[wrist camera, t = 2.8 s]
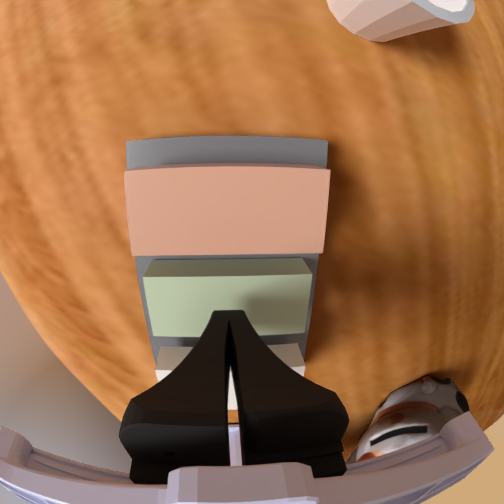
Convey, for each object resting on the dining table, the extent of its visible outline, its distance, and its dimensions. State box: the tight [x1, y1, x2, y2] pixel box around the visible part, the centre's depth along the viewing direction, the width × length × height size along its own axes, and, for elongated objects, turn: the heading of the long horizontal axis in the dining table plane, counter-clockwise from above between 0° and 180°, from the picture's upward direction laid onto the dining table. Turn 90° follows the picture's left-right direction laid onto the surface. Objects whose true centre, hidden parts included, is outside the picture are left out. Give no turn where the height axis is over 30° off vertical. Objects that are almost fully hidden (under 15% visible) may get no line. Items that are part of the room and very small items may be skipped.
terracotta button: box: [124, 163, 330, 256], centre depth 12 cm, size 4×8×2 cm, turn 89°
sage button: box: [143, 258, 312, 337], centre depth 15 cm, size 4×8×2 cm, turn 89°
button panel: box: [126, 136, 328, 363], centre depth 17 cm, size 16×10×2 cm, turn 179°
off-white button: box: [155, 343, 305, 410], centre depth 15 cm, size 4×8×2 cm, turn 89°
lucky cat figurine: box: [345, 375, 469, 465], centre depth 20 cm, size 15×12×14 cm
